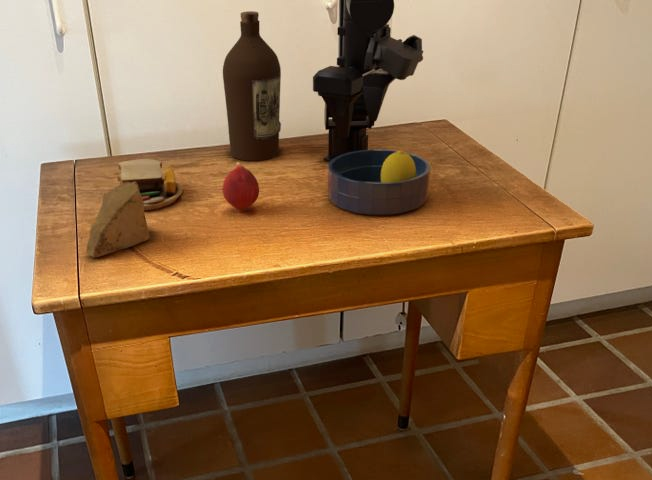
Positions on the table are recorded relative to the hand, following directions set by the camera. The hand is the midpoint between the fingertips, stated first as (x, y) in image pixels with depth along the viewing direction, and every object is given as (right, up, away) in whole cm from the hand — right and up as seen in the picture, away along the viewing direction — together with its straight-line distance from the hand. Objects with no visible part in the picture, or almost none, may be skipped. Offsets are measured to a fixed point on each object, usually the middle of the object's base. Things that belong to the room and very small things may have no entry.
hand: (359, 128), depth 113 cm
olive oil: (-16, +4, +30) cm, 34 cm away
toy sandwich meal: (-35, -8, +13) cm, 38 cm away
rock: (-36, -18, -2) cm, 41 cm away
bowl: (+4, -9, +9) cm, 13 cm away
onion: (-18, -11, +7) cm, 22 cm away
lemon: (+7, -9, +7) cm, 14 cm away
